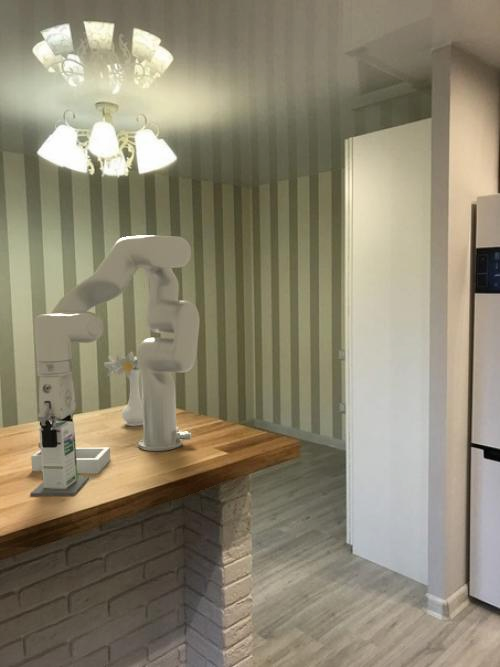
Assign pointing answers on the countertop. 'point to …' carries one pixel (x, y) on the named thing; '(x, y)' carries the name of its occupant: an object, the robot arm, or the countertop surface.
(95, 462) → the housing
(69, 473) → the syrup box
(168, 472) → the countertop surface
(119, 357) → the flower vase
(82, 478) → the mat
